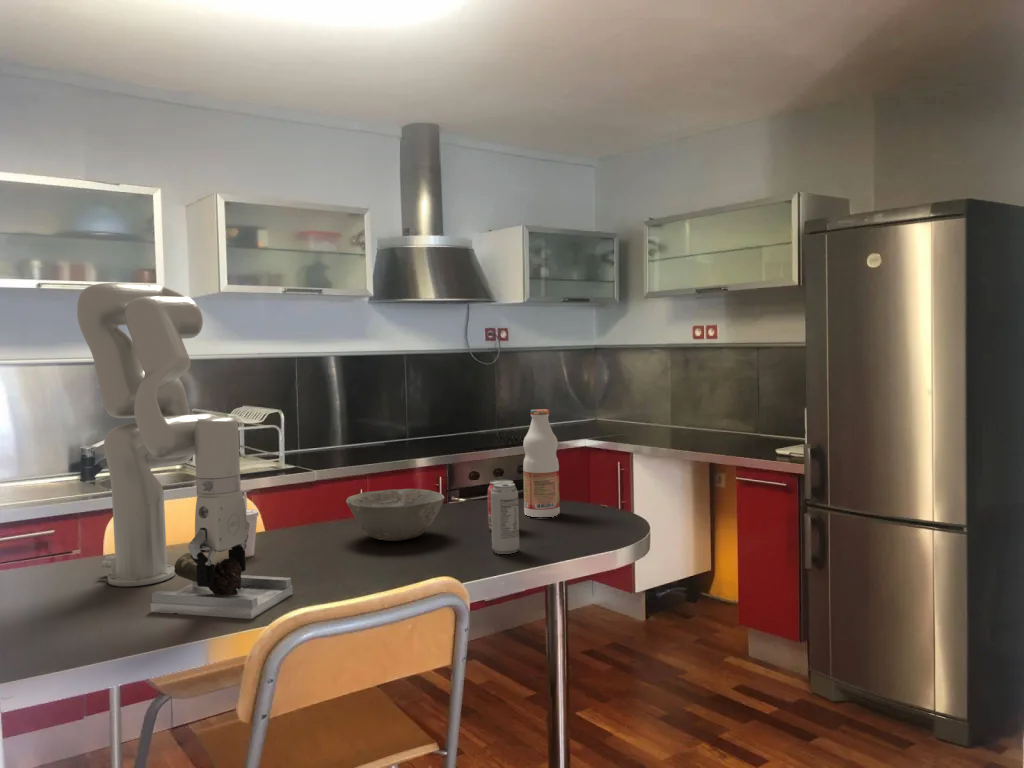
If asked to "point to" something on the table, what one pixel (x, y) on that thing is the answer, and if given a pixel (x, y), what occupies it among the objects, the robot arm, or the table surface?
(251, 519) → the smoothie
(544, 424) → the fruit juice
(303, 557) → the table surface
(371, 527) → the ceramic bowl
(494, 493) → the energy drink can
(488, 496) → the soda can
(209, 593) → the grey rectangular tray
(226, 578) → the dark piece
